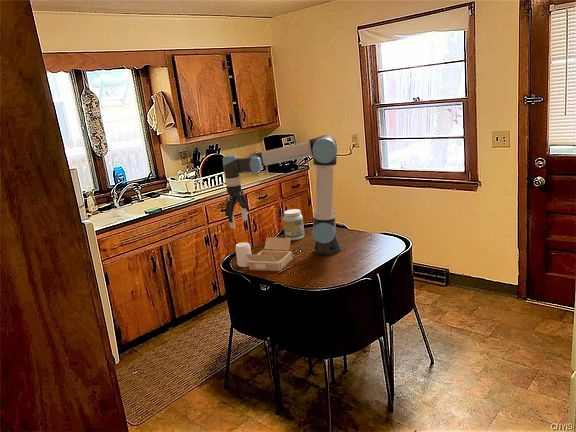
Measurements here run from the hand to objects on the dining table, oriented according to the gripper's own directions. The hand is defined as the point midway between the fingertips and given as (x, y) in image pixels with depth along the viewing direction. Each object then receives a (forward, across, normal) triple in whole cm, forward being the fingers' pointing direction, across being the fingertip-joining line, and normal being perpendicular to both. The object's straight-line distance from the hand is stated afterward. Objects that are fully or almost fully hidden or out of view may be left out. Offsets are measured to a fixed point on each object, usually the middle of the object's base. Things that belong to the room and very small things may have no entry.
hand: (239, 224), depth 247 cm
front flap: (+15, +8, +15) cm, 23 cm away
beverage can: (+24, 0, 0) cm, 24 cm away
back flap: (+15, -13, +15) cm, 25 cm away
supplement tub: (+24, -46, +11) cm, 53 cm away
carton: (+23, -3, +15) cm, 28 cm away
